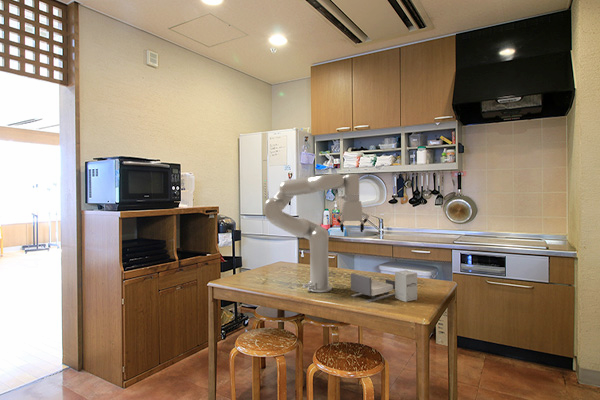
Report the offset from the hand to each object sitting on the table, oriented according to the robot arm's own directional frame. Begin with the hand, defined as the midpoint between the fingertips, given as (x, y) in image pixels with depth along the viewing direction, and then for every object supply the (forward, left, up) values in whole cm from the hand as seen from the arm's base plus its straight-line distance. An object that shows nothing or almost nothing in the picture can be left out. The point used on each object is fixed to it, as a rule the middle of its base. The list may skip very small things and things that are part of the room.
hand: (352, 231), depth 181 cm
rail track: (+5, -13, -30) cm, 33 cm away
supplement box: (+9, -26, -30) cm, 41 cm away
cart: (-1, -13, -29) cm, 32 cm away
